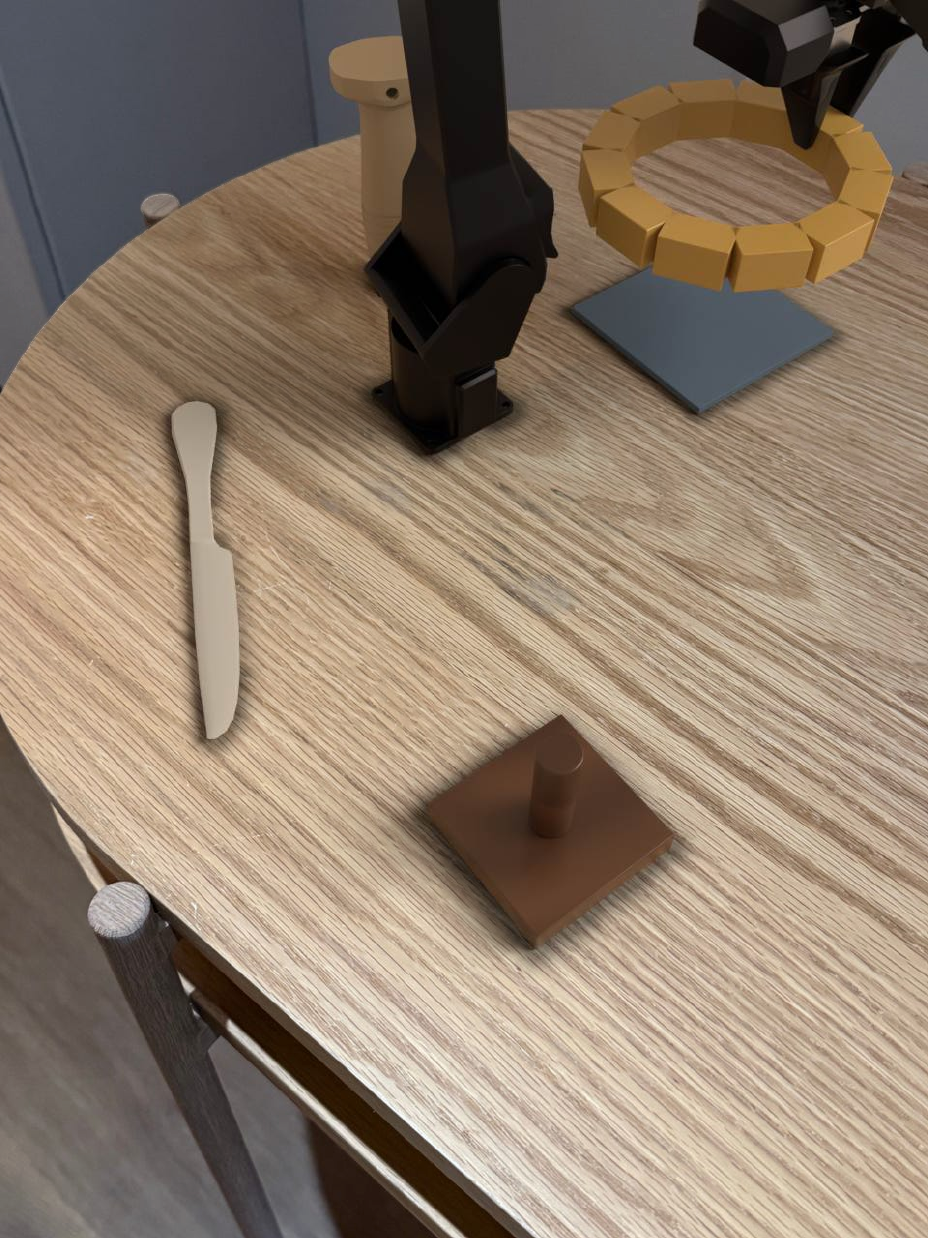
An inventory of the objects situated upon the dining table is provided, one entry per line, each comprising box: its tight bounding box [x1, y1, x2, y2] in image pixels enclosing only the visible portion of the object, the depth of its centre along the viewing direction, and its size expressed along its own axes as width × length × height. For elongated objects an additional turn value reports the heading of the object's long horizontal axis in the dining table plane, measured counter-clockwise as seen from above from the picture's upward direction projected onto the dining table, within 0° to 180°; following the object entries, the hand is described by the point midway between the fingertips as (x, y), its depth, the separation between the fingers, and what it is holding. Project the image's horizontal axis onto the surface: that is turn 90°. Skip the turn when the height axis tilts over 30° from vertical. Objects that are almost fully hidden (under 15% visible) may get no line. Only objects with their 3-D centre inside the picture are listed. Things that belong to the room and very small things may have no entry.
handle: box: [328, 35, 416, 259], centre depth 72 cm, size 5×6×15 cm
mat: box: [570, 265, 835, 415], centre depth 75 cm, size 12×12×1 cm
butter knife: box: [171, 400, 241, 740], centre depth 63 cm, size 1×24×3 cm
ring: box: [577, 78, 895, 292], centre depth 65 cm, size 17×17×2 cm
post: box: [427, 714, 675, 950], centre depth 50 cm, size 8×8×8 cm
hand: (818, 138), depth 67 cm, fingers closed on ring, 2 cm apart
